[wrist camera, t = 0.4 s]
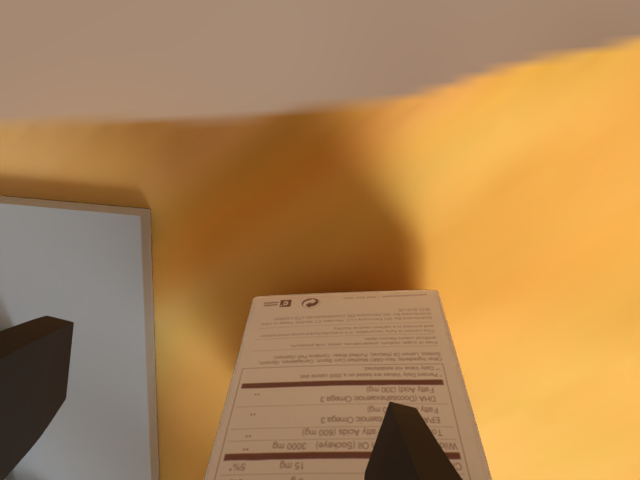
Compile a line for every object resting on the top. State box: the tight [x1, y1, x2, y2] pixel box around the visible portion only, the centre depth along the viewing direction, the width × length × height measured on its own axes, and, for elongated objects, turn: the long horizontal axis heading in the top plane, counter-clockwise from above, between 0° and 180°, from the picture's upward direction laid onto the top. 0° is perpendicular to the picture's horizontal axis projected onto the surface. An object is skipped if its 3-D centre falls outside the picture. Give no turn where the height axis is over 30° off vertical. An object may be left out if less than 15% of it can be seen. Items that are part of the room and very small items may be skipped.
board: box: [0, 196, 159, 480], centre depth 24 cm, size 20×14×1 cm
